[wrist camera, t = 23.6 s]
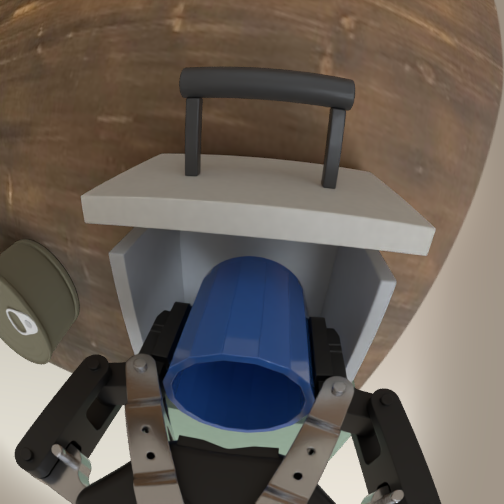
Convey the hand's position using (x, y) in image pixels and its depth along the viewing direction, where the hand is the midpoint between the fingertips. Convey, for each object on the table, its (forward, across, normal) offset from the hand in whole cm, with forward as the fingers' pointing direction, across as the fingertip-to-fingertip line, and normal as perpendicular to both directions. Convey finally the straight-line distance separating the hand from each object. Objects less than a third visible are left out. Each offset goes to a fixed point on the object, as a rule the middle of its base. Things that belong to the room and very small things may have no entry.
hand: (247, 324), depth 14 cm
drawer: (+7, 0, -2) cm, 8 cm away
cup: (+2, 0, 0) cm, 2 cm away
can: (+9, +24, +8) cm, 27 cm away
